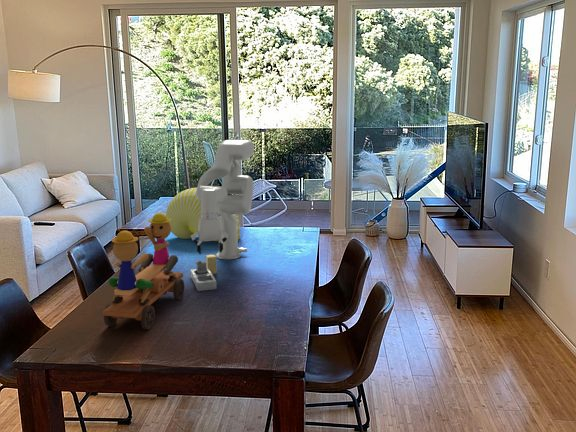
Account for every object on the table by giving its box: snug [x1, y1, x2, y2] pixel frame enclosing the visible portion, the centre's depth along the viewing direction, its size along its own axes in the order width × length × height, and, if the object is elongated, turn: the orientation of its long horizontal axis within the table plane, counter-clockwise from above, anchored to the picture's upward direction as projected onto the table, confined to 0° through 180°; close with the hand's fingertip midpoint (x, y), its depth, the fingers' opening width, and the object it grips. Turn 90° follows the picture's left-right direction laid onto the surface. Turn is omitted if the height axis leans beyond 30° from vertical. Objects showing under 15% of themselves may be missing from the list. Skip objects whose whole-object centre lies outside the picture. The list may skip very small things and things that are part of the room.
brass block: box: [205, 254, 218, 275], centre depth 265 cm, size 4×4×8 cm
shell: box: [165, 187, 241, 243], centre depth 322 cm, size 44×31×30 cm
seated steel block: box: [195, 260, 207, 275], centre depth 256 cm, size 4×4×8 cm
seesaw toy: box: [102, 212, 185, 331], centre depth 217 cm, size 45×16×36 cm, turn 169°
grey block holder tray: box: [190, 268, 218, 292], centre depth 252 cm, size 8×19×4 cm, turn 18°
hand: (210, 252), depth 263 cm, fingers open, 9 cm apart
